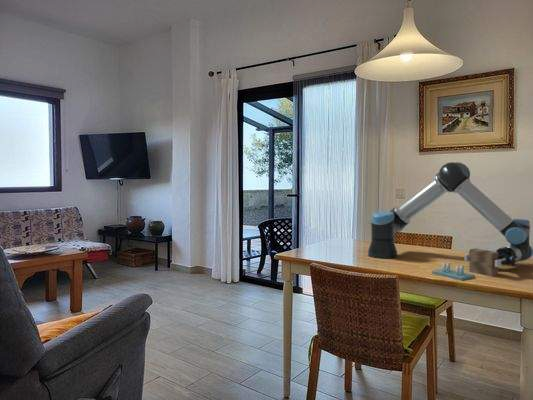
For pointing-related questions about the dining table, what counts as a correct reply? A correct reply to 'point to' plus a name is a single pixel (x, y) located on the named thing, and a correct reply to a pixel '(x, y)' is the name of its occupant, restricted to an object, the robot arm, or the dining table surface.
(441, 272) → the peg stand
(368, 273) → the dining table surface
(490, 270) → the brown boxy piece
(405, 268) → the dining table surface
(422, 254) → the dining table surface
